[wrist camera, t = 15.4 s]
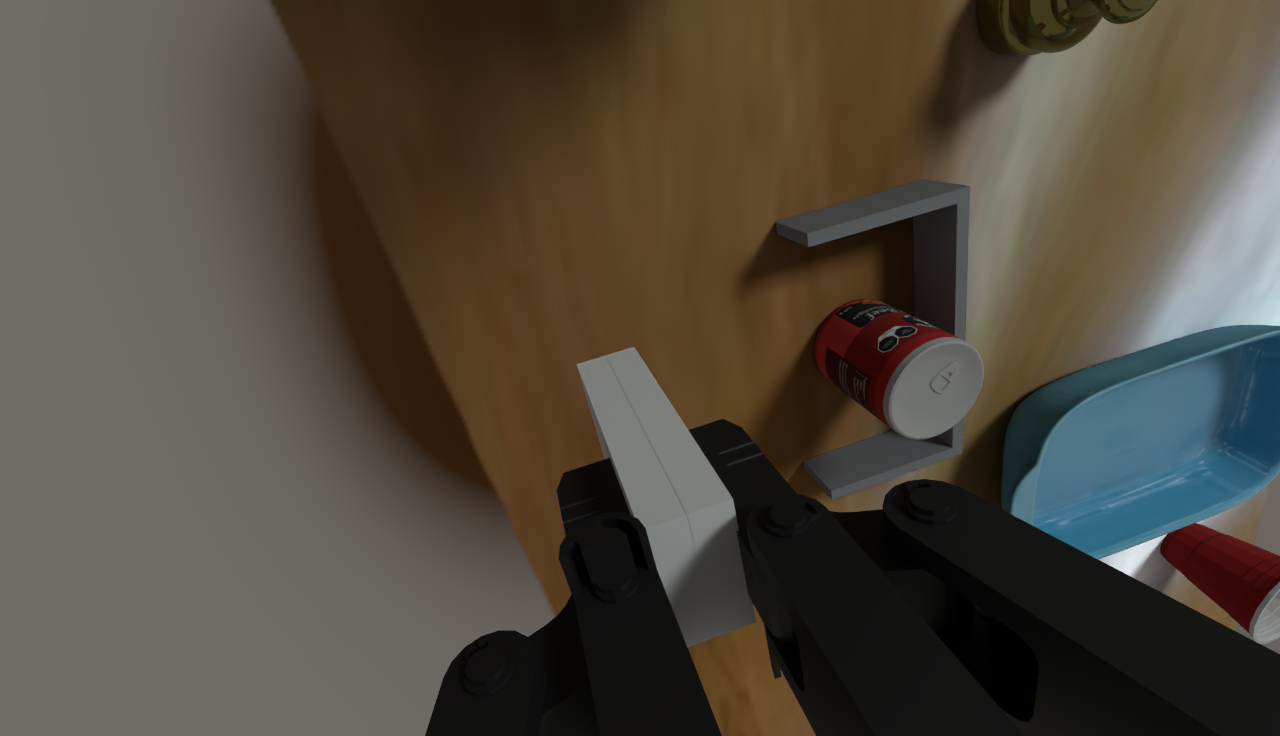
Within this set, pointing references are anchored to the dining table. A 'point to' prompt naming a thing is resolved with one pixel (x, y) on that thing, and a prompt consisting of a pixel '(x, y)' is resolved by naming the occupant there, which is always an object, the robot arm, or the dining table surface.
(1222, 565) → the plastic cup
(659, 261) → the dining table surface
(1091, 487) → the casserole dish
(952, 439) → the box
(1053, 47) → the olive green lumpy figure
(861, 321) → the canned food
